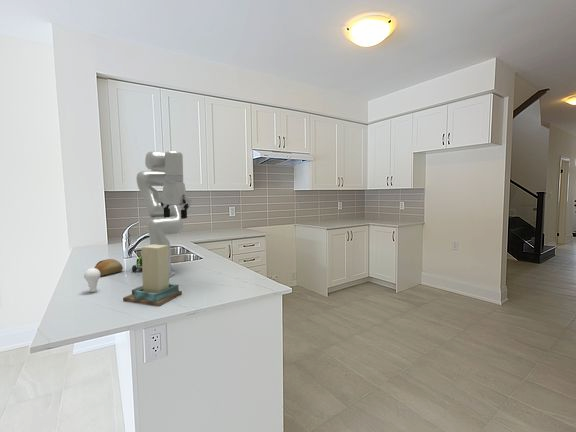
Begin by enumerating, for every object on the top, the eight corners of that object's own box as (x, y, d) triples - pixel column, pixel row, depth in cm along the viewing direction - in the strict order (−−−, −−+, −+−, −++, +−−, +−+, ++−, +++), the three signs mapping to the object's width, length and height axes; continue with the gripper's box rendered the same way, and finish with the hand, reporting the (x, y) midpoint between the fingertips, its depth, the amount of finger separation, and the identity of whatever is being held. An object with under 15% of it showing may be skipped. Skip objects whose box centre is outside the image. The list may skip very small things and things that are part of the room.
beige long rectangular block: (171, 292, 126) (169, 244, 124) (158, 298, 119) (156, 248, 117) (156, 290, 128) (154, 243, 126) (143, 296, 121) (140, 246, 119)
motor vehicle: (132, 273, 161) (131, 255, 160) (138, 265, 179) (137, 248, 178) (154, 271, 165) (154, 253, 164) (158, 263, 183) (157, 247, 182)
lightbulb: (84, 295, 127) (82, 270, 126) (86, 291, 132) (84, 267, 131) (100, 293, 130) (99, 269, 129) (102, 289, 135) (100, 265, 134)
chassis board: (123, 301, 120) (122, 290, 120) (149, 290, 133) (148, 280, 133) (158, 306, 114) (157, 295, 114) (181, 294, 128) (181, 284, 127)
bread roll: (88, 276, 155) (87, 261, 154) (115, 269, 168) (115, 256, 168) (99, 279, 151) (98, 263, 150) (126, 271, 164) (126, 257, 164)
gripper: (152, 179, 129) (154, 217, 131) (184, 179, 123) (185, 219, 124) (165, 179, 136) (166, 216, 138) (195, 180, 130) (196, 218, 131)
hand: (175, 217), depth 131 cm, fingers open, 9 cm apart
